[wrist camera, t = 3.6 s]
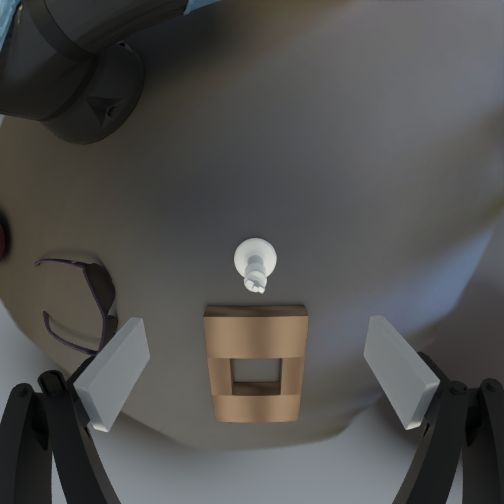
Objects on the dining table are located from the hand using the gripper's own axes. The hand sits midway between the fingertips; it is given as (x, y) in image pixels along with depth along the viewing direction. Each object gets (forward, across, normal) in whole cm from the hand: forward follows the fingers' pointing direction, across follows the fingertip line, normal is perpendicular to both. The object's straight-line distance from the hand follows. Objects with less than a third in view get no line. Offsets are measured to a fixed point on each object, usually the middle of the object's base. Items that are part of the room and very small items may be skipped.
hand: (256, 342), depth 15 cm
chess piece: (+18, 0, 0) cm, 18 cm away
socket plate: (+18, 0, -15) cm, 23 cm away
